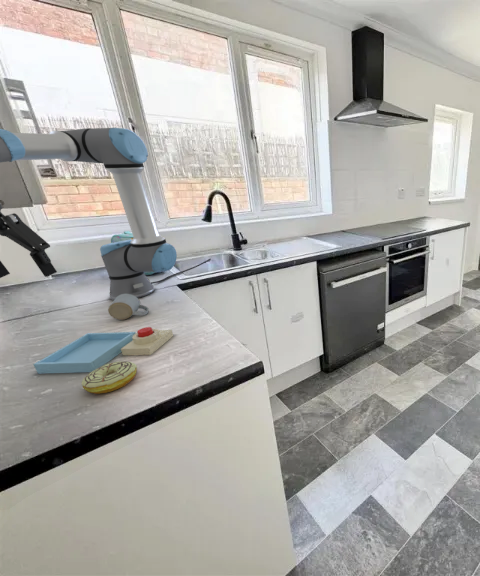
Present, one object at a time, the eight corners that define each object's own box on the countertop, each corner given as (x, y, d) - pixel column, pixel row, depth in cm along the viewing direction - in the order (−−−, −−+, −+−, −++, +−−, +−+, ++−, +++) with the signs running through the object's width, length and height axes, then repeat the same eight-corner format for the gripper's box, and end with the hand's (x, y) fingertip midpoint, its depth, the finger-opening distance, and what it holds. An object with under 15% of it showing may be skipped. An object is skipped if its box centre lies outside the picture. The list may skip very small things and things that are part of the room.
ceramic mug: (110, 322, 109) (103, 302, 106) (118, 313, 116) (112, 294, 113) (146, 317, 113) (140, 298, 110) (152, 309, 120) (146, 290, 117)
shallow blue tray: (91, 341, 97) (87, 333, 96) (138, 340, 98) (135, 331, 97) (37, 373, 82) (33, 364, 81) (94, 372, 82) (90, 362, 81)
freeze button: (144, 332, 95) (142, 327, 95) (156, 331, 95) (154, 326, 95) (135, 338, 92) (134, 332, 91) (148, 337, 92) (146, 332, 91)
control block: (148, 336, 100) (144, 325, 98) (173, 335, 100) (170, 324, 99) (122, 355, 90) (118, 343, 88) (150, 354, 90) (146, 342, 88)
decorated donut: (143, 365, 85) (139, 353, 83) (134, 388, 76) (129, 375, 75) (94, 376, 80) (89, 364, 79) (79, 402, 71) (73, 388, 70)
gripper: (-101, 202, 70) (-33, 283, 81) (2, 197, 69) (58, 280, 80) (-60, 194, 76) (-1, 270, 87) (36, 189, 75) (83, 267, 86)
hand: (27, 275), depth 83 cm, fingers open, 13 cm apart
